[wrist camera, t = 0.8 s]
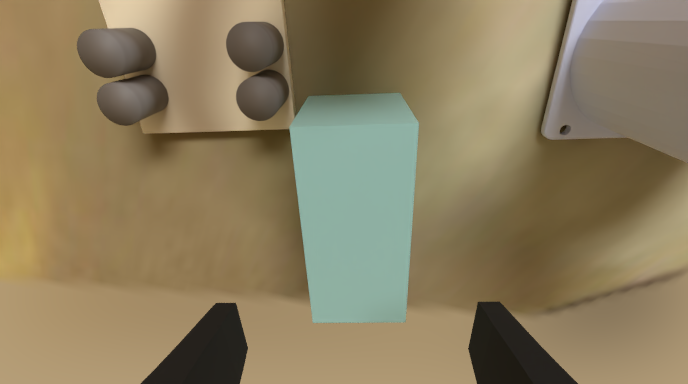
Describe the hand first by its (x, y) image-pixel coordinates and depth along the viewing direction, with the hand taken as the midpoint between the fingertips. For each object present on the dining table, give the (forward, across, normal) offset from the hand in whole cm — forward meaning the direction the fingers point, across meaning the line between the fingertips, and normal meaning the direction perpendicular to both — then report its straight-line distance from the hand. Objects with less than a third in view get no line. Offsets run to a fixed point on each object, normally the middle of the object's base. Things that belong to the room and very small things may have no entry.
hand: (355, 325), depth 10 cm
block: (+10, 0, 0) cm, 10 cm away
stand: (+10, +7, -6) cm, 14 cm away
